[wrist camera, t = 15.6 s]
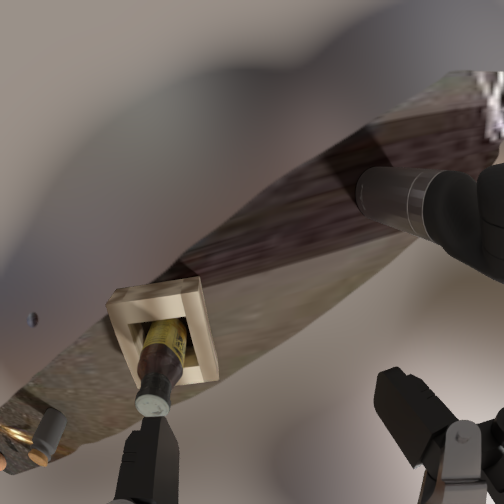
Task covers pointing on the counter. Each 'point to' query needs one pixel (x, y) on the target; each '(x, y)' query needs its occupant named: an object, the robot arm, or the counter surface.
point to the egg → (2, 462)
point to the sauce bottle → (160, 366)
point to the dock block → (158, 308)
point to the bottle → (47, 436)
